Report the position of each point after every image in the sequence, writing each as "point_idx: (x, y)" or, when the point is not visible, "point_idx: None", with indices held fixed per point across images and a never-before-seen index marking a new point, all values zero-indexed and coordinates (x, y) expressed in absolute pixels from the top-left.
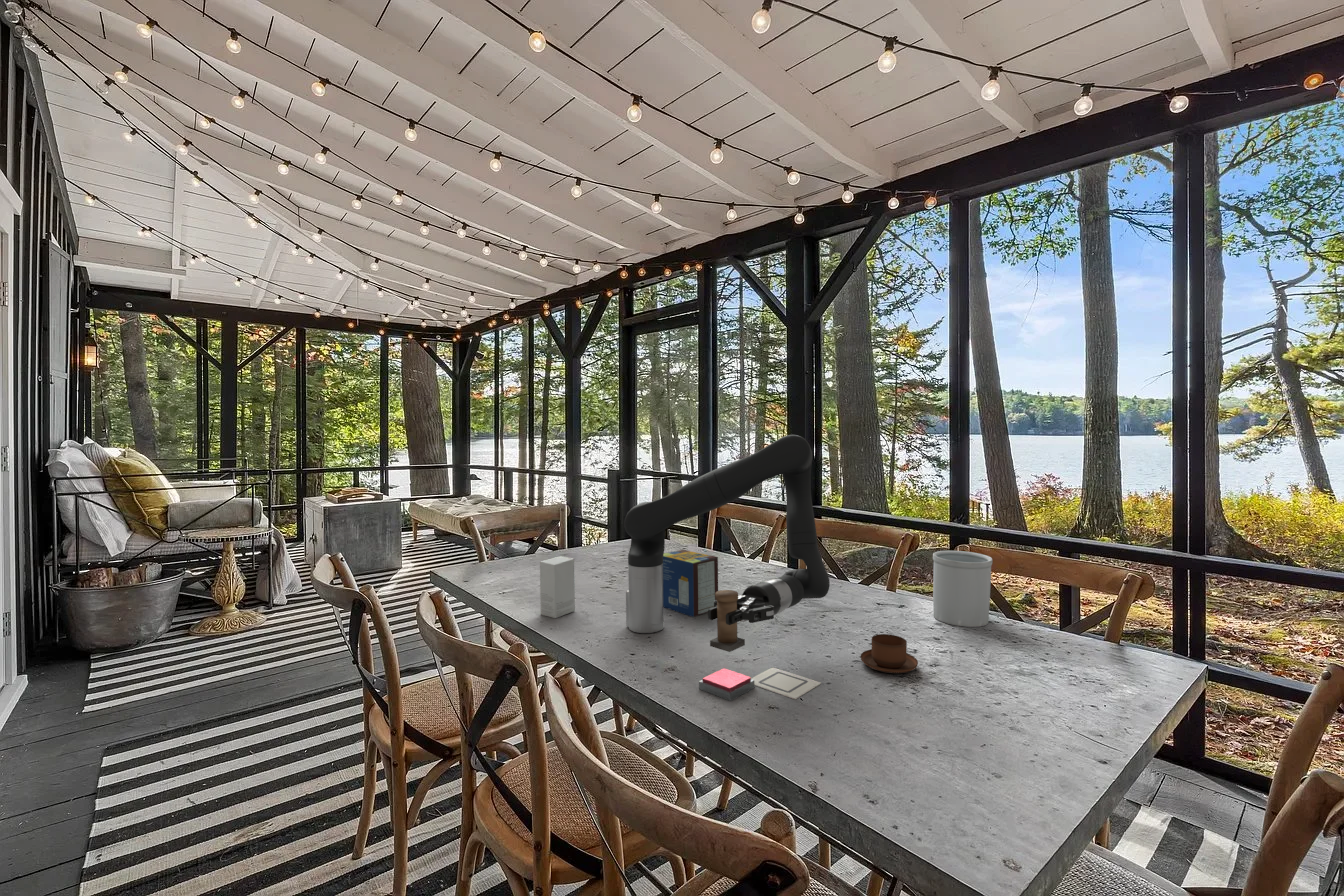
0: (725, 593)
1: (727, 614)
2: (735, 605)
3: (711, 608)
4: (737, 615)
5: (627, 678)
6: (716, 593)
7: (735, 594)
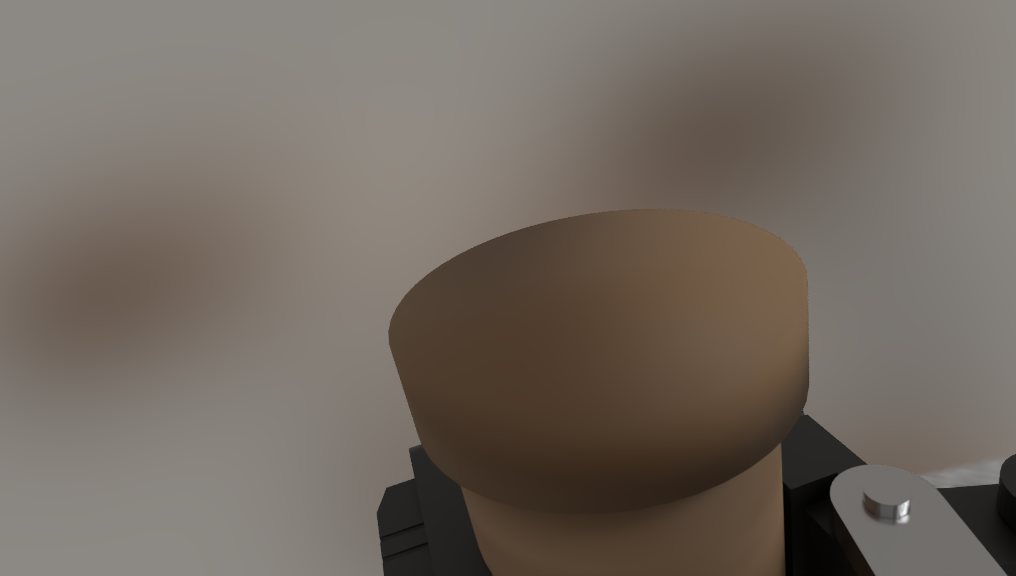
0: (578, 272)
1: None
2: (470, 505)
3: None
4: (385, 562)
5: (989, 481)
6: (643, 213)
7: (428, 350)
